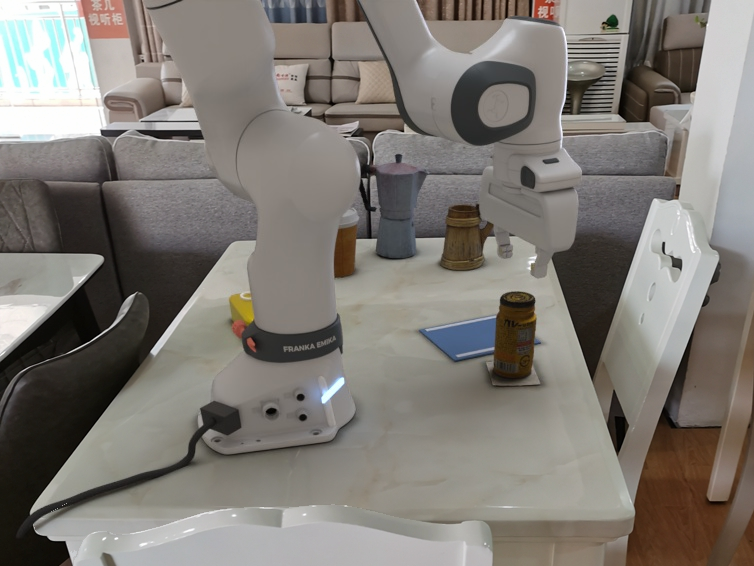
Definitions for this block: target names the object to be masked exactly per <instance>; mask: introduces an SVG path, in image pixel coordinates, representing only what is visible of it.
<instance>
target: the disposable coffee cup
mask: <svg viewBox="0 0 754 566" xmlns="http://www.w3.org/2000/svg"><path fill="white" fill-rule="evenodd" d="M359 220H360V215H359V214H358V212H357V209H356V208H354V207H352V206H351V207H350V208H349V209H348V211H347V212H346V213H345V214H344V215H343V216H342V218H341V221H340V224H339V228H338V233H337V238H336V243H335V251H334V278H342V277H347V276H351V275H353V274H354V273H355V268H356V266H355V265H356V251H357V232H358V231H357V230H358V223H359Z"/></svg>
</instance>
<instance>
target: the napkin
mask: <svg viewBox="0 0 754 566" xmlns="http://www.w3.org/2000/svg"><path fill="white" fill-rule="evenodd" d="M496 316H497V314H492V315H488V316H482V317H477V318H472V319H467V320H462V321H458V322H457V321H456V322H452V323H446V324H441V325H436V326H430V327H425V328H421V329H419V330H418V331H419V333H421V334H422V335H423V336H424V337H425V338H427V339H428V340H429V341H430V342H431V343H433V345H435V346H436V347H437V348H438V349H440V351H442V352H443V353H444V354H445V355H446V356H448V357H449V358H450V359H451V360H452V361H453V362H455V363H456V362H460V361H465V360H469V359H474V358H479V357H484V356H489V355H492V354H493V355H494V347H495V331H496ZM540 344H542V341H540V340H539V339H538V338H536V337H535V343H534V346H535V345H540Z"/></svg>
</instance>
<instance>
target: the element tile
mask: <svg viewBox="0 0 754 566" xmlns="http://www.w3.org/2000/svg"><path fill="white" fill-rule="evenodd" d="M228 303H229V309H230V316H231V321H232V322H233V323H234V322H235V321H236V320H242V321H244V322H245V323H246V325H247V326H248V325H249V324H250V323H251V322H252V321H253V319H254V314H253V307H252V300H251V293H250V290H249V291H244V292H240V293H235V294H234V293H233V294H231V295H230V296H229V298H228Z"/></svg>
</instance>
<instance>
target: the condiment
mask: <svg viewBox="0 0 754 566" xmlns="http://www.w3.org/2000/svg"><path fill="white" fill-rule="evenodd" d="M535 311H536V296H534V295H533V294H532V293H530V292H528V291H527V292H526V291H520V290H517V291H516V290H514V291H507V292H505V293H503V294H502V295H501V296H500V297H499V306H498V312H497V313H496V315H497V316H496V331H495V347H494V354H493V361H485V364H486V366H487V372H488V375H489V377H490V381H491V383H492V386H499V387H500V386H501V387H502V386H509V387H511V386H512V387H515V386H519V387H521V386H533V385H541V381H540V379H539V377H538V374H537V372H536V369H535V367H534V365H533V364H534V357H535V345H534V343H535V338H536V330H537V320H538V319H537V314H536V313H535Z"/></svg>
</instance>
